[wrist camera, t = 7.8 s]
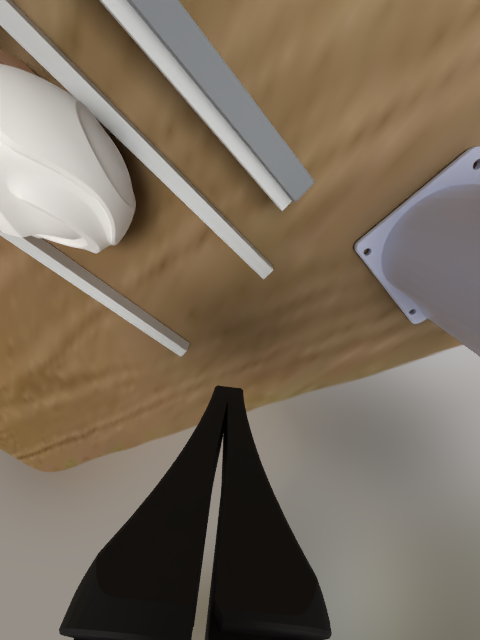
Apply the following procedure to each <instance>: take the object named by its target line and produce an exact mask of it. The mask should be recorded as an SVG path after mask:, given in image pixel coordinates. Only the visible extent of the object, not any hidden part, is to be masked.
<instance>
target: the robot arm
mask: <svg viewBox="0 0 480 640" xmlns="http://www.w3.org/2000/svg"><path fill="white" fill-rule="evenodd" d="M476 160H477V165H476V167H475V168H474V169H473V164H474V163H475V161H476ZM367 248H369V251H368V252H367V253H366V254H364V250H365V249H367ZM354 249H355V251H356V252H357V254H358V255H359V256H360V258H361V259H362V260H363V261H364V263H365V264H366V265H367V267H368V268H369V269H370V270H371V272H372V273H373V274H374V276H375V277H376V278H377V279H378V281H379V282H380V283H381V285H382V286H383V287H384V288H385V290H386V291H387V292H388V294H389V295H390V296H391V297H392V299H393V300H394V301H395V303H396V304H397V305H398V306H399V308H400V309H401V310H402V312H403V313H404V314H405V315H406V317H407V318H408V319H409V321H411V322H412V323H413V324H418V323H421V322H422V321H424V320H426V319H429V320H430V321H432V322H433V323H435V324H436V325H437V326H439V327H440V328H441V329H443V330H444V331H446V332H447V333H448V334H450V335H451V336H452V337H454V338H455V339H457V340H458V341H459V342H461V343H462V344H463V345H465V346H466V347H468V348H469V349H470V350H472V351H473V352H474V353H476V354H477V355H479V356H480V146H477V147H472V148H470V149H468V150H466V151H465V152H464V153H463V154H462V155H460V156H459V157H458V158H457V159H456V160H454V161H453V162H452V163H451V164H450V165H448V166H447V167H446V168H445V169H444V170H442V171H441V172H440V173H439V174H438V175H436V176H435V177H434V178H433V179H432V180H430V181H429V182H428V183H427V184H426V185H424V186H423V187H422V188H421V189H420V190H418V191H417V192H416V193H415V194H414V195H412V196H411V197H410V198H409V199H408V200H406V201H405V202H404V203H403V204H402V205H400V206H399V207H398V208H397V209H396V210H394V211H393V212H392V213H391V214H389V215H388V216H387V217H386V218H385V219H383V220H382V221H381V222H380V223H379V224H377V225H376V226H375V227H374V228H373V229H371V230H370V231H369V232H368V233H367V234H365V235H364V236H363V237H362V238H361V239H359V240H358V241H357V242H356V244H355V246H354ZM412 309H413V310H412ZM411 310H412V311H411ZM410 311H411V312H410ZM223 433H224V435H223ZM222 438H223V462H222V486H221V498H220V507H219V517H218V525H217V535H216V545H215V553H214V562H213V572H212V580H211V589H210V598H209V606H208V615H207V624H206V634H205V640H325V639H329V638H330V636H331V628H330V621H329V617H328V613H327V609H326V605H325V601H324V598H323V595H322V592H321V589H320V586H319V583H318V580H317V577H316V575H315V573H314V572H313V570H312V568H311V566H310V564H309V562H308V561H307V559H306V557H305V555H304V553H303V551H302V549H301V548H300V546H299V544H298V542H297V540H296V538H295V536H294V534H293V532H292V530H291V528H290V526H289V524H288V523H287V520H286V518H285V516H284V514H283V512H282V510H281V508H280V505H279V503H278V501H277V499H276V497H275V495H274V493H273V490H272V488H271V486H270V483H269V481H268V478H267V476H266V474H265V471H264V469H263V466H262V464H261V461H260V458H259V455H258V452H257V449H256V446H255V443H254V440H253V437H252V433H251V430H250V426H249V423H248V419H247V414H246V410H245V404H244V398H243V390H242V389H241V388H232V387H224V386H216V387H215V389H214V392H213V395H212V398H211V400H210V402H209V404H208V407H207V409H206V411H205V413H204V415H203V416H202V418H201V420H200V422H199V424H198V426H197V427H196V429H195V431H194V432H193V434H192V436H191V437H190V439H189V441H188V442H187V444H186V445H185V447H184V448H183V450H182V451H181V453H180V454H179V456H178V457H177V459H176V460H175V462H174V463H173V464H172V466H171V467H170V469H169V470H168V471H167V473H166V474H165V475H164V477H163V478H162V479H161V481H160V482H159V483H158V485H157V486H156V487H155V488H154V490H153V491H152V492H151V493H150V495H149V496H148V497H147V498H146V499H145V501H144V502H143V503H142V504H141V505H140V507H139V508H138V509H137V510H136V512H135V513H134V514H133V515H132V516H131V518H130V519H129V520H128V521H127V522H126V523H125V524H124V525H123V527H122V528H121V529H120V530H119V531H118V532H117V533H116V534H115V535H114V537H113V538H112V539H111V540H110V541H109V542H108V543H107V544H106V545H105V547H104V548H103V549H102V550H101V551H100V552H99V553H98V555H97V557H96V558H95V560H94V561H93V563H92V564H91V566H90V567H89V569H88V571H87V573H86V574H85V576H84V577H83V579H82V581H81V583H80V585H79V587H78V589H77V590H76V592H75V594H74V597H73V599H72V601H71V603H70V606H69V608H68V610H67V613H66V615H65V617H64V619H63V622H62V624H61V626H60V629H59V631H60V634H61V635H64V636H68V637H73V638H74V640H191V637H192V630H193V627H194V621H195V613H196V605H197V598H198V591H199V583H200V575H201V568H202V561H203V552H204V545H205V538H206V530H207V523H208V516H209V508H210V501H211V493H212V487H213V482H214V477H215V472H216V467H217V462H218V457H219V453H220V448H221V443H222Z"/></svg>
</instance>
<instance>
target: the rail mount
mask: <svg viewBox="0 0 480 640" xmlns="http://www.w3.org/2000/svg"><path fill="white" fill-rule="evenodd" d="M99 1H100V2H101V3H102V4H103V5H104V7H105V8H106V9H107V10H108V11H109V12H110V14H111V15H112V16H113V17H114V18H115V19H116V21H117V22H118V23H119V24H120V25H121V26H122V28H123V29H124V30H125V31H126V32H127V33H128V34H129V36H130V37H131V38H132V39H133V40H134V41H135V43H136V44H137V45H138V46H139V47H140V48H141V50H142V51H143V52H144V53H145V54H146V55H147V56H148V58H149V59H150V60H151V61H152V62H153V63H154V65H155V66H156V67H157V68H158V69H159V70H160V72H161V73H162V74H163V75H164V76H165V77H166V79H167V80H168V81H169V82H170V83H171V84H172V85H173V87H174V88H175V89H176V90H177V91H178V92H179V94H180V95H181V96H182V97H183V98H184V99H185V101H186V102H187V103H188V104H189V105H190V106H191V107H192V109H193V110H194V111H195V112H196V113H197V114H198V116H199V117H200V118H201V119H202V120H203V121H204V123H205V124H206V125H207V126H208V127H209V128H210V129H211V131H212V132H213V133H214V134H215V135H216V136H217V138H218V139H219V140H220V141H221V142H222V143H223V145H224V146H225V147H226V148H227V149H228V150H229V152H230V153H231V154H232V155H233V156H234V157H235V158H236V160H237V161H238V162H239V163H240V164H241V165H242V167H243V168H244V169H245V170H246V171H247V172H248V174H249V175H250V176H251V177H252V178H253V179H254V180H255V182H256V183H257V184H258V185H259V186H260V187H261V189H262V190H263V191H264V192H265V193H266V194H267V196H268V197H269V198H270V199H271V200H272V201H273V203H274V204H275V205H276V206H277V207H278V208H279V209H280V210H282V211H283V210H284V209H285V208H286V207H287V206H288V205H289V204H290V203H291V202H292V201H294V202H296V201H297V200H298V199H299V198H300V197H301V196H302V195H303V194H304V193H305V192H306V191H307V190H308V189H309V188H310V187H311V186H312V185H313V184H314V183H315V181H314V180H313V179H312V177H311V176H310V175H309V173H308V172H307V171H306V169H305V168H304V167H303V165H302V164H301V163H300V161H299V160H298V159H297V157H296V156H295V155H294V153H293V152H292V151H291V149H290V148H289V147H288V145H287V144H286V143H285V141H284V140H283V139H282V137H281V136H280V135H279V133H278V132H277V131H276V129H275V128H274V127H273V125H272V124H271V123H270V121H269V120H268V119H267V117H266V116H265V115H264V113H263V112H262V111H261V109H260V108H259V107H258V105H257V104H256V103H255V101H254V100H253V99H252V97H251V96H250V95H249V93H248V92H247V91H246V89H245V88H244V87H243V85H242V84H241V83H240V81H239V80H238V79H237V77H236V76H235V75H234V74H233V72H232V71H231V70H230V68H229V67H228V66H227V64H226V63H225V62H224V60H223V59H222V58H221V56H220V55H219V54H218V52H217V51H216V50H215V48H214V47H213V46H212V44H211V43H210V42H209V40H208V39H207V38H206V36H205V35H204V34H203V32H202V31H201V30H200V28H199V27H198V26H197V24H196V23H195V22H194V20H193V19H192V18H191V16H190V15H189V14H188V12H187V11H186V10H185V8H184V7H183V6H182V4H181V3H180V2H179V0H99ZM0 26H2V27H3V28H4V29H5V30H6V31H7V32H8V33H9V34H10V35H11V36H12V37H13V38H14V39H15V40H16V41H17V42H18V43H19V44H20V45H21V46H22V47H23V48H24V49H25V50H26V51H27V52H28V53H30V54H31V55H32V56H33V57H34V58H35V59H36V60H37V61H38V62H39V63H40V64H41V65H42V66H43V67H44V68H45V69H46V70H47V71H48V72H49V73H50V74H51V75H52V76H53V77H54V78H55V79H56V80H57V81H59V82H60V83H61V84H62V85H63V86H64V87H65V88H66V89H67V90H68V91H69V92H70V93H71V94H72V95H73V96H74V97H75V98H77V99H78V100H79V101H81V102H82V103H83V104H84V105H85V106H86V107H87V108H88V109H89V110H90V111H91V112H92V114H93V115H94V116H95V117H96V118H97V119H98V120H99V121H100V122H101V123H102V124H103V125H104V126H105V127H106V128H107V129H108V130H109V131H110V132H111V133H112V134H113V135H114V136H116V137H117V138H118V139H119V140H120V141H121V142H122V143H123V144H124V145H125V146H126V147H127V148H128V149H129V150H130V151H131V152H132V153H133V154H134V155H135V156H136V157H137V158H138V159H139V160H140V161H141V162H142V163H143V164H145V165H146V166H147V167H148V168H149V169H150V170H151V171H152V172H153V173H154V174H155V175H156V176H157V177H158V178H159V179H160V180H161V181H162V182H163V183H164V184H165V185H166V186H167V187H168V188H169V189H170V190H171V191H172V192H174V193H175V194H176V195H177V196H178V197H179V198H180V199H181V200H182V201H183V202H184V203H185V204H186V205H187V206H188V207H189V208H190V209H191V210H192V211H193V212H194V213H195V214H196V215H197V216H198V217H199V218H200V219H201V220H203V221H204V222H205V223H206V224H207V225H208V226H209V227H210V228H211V229H212V230H213V231H214V232H215V233H216V234H217V235H218V236H219V237H220V238H221V239H222V240H223V241H224V242H225V243H226V244H227V245H228V246H229V247H231V248H232V249H233V250H234V251H235V252H236V253H237V254H238V255H239V256H240V257H241V258H242V259H243V260H244V261H245V262H246V263H247V264H248V265H249V266H250V267H251V268H252V269H253V270H254V271H255V272H256V273H257V274H258V275H260V276H261V277H262V278H263V279H265V278H266V277H267V276H268V275H269V274H270V273H271V272H272V271H273V267H272V265H271V264H270V263H269V262H268V261H267V260H266V259H265V258H264V257H263V256H262V255H261V254H260V253H259V252H258V250H257V249H256V248H255V247H254V246H253V245H252V244H251V243H250V242H249V241H248V240H247V239H246V238H245V237H244V236H243V235H242V234H241V233H240V232H239V231H238V230H237V229H236V228H235V227H234V226H233V225H232V224H231V223H230V222H229V221H228V220H227V219H226V218H225V217H224V216H223V215H222V214H221V213H220V212H219V211H218V210H217V209H216V208H215V207H214V206H213V205H212V204H211V203H210V202H209V201H208V200H207V199H206V198H205V197H204V196H203V195H202V194H201V193H200V192H199V191H198V190H197V189H196V188H195V187H194V186H193V185H192V183H191V182H190V181H189V180H188V179H187V178H186V177H185V176H184V175H183V174H182V173H181V172H180V171H179V170H178V169H177V168H176V167H175V166H174V165H173V164H172V163H171V162H170V161H169V160H168V159H167V158H166V157H165V156H164V155H163V154H162V153H161V152H160V151H159V150H158V149H157V148H156V147H155V146H154V145H153V144H152V143H151V142H150V141H149V140H148V139H147V138H146V137H145V136H144V135H143V134H142V133H141V132H140V131H139V130H138V129H137V128H136V127H135V126H134V125H133V124H132V123H131V122H130V121H129V120H128V119H127V118H126V117H125V115H124V114H123V113H122V112H121V111H120V110H119V109H118V108H117V107H116V106H115V105H114V104H113V103H112V102H111V101H110V100H109V99H108V98H107V97H106V96H105V95H104V94H103V93H102V92H101V91H100V90H99V89H98V88H97V87H96V86H95V85H94V84H93V83H92V82H91V81H90V80H89V79H88V78H87V77H86V76H85V75H84V74H83V73H82V72H81V71H80V70H79V69H78V68H77V67H76V66H75V65H74V64H73V63H72V62H71V61H70V60H69V59H68V58H67V57H66V56H65V55H64V54H63V53H62V52H61V51H60V50H59V48H58V47H57V46H56V45H55V44H54V43H53V42H52V41H51V40H50V39H49V38H48V37H47V36H46V35H45V34H44V33H43V32H42V31H41V30H40V29H39V28H38V27H37V26H36V25H35V24H34V23H33V22H32V21H31V20H30V19H29V18H28V17H27V16H26V15H25V14H24V13H23V12H22V11H21V10H20V9H19V8H18V7H17V6H16V5H15V4H14V3H13V2H12V1H11V0H0ZM0 235H1V236H2V237H4V238H5V239H7V240H8V241H10V242H11V243H13V244H14V245H15V246H17V247H18V248H20V249H21V250H23V251H24V252H26V253H27V254H29V255H30V256H32V257H33V258H35V259H36V260H38V261H39V262H41V263H42V264H44V265H45V266H47V267H48V268H50V269H51V270H53V271H54V272H56V273H57V274H59V275H60V276H62V277H63V278H65V279H66V280H67V281H69V282H70V283H72V284H73V285H75V286H76V287H78V288H79V289H81V290H82V291H84V292H85V293H87V294H88V295H90V296H91V297H93V298H94V299H96V300H97V301H99V302H100V303H102V304H103V305H105V306H106V307H108V308H109V309H111V310H112V311H114V312H115V313H116V314H118V315H119V316H121V317H122V318H124V319H125V320H127V321H128V322H130V323H131V324H133V325H134V326H136V327H137V328H139V329H140V330H142V331H143V332H145V333H146V334H148V335H149V336H151V337H152V338H154V339H155V340H157V341H158V342H160V343H161V344H163V345H164V346H166V347H167V348H168V349H170V350H171V351H173V352H174V353H176V354H177V355H179V356H180V357H181V356H182V355H183V354H184V353H185V352H186V351H187V350H188V347H189V345H190V343H189V342H187V341H186V340H184V339H183V338H182V337H180V336H179V335H177V334H176V333H175V332H173V331H172V330H170V329H169V328H168V327H166V326H165V325H163V324H162V323H160V322H159V321H158V320H156V319H155V318H153V317H152V316H151V315H149V314H148V313H146V312H145V311H144V310H142V309H141V308H139V307H138V306H137V305H135V304H134V303H132V302H131V301H129V300H128V299H127V298H125V297H124V296H122V295H121V294H120V293H118V292H117V291H115V290H114V289H113V288H111V287H110V286H108V285H107V284H106V283H104V282H103V281H101V280H100V279H99V278H97V277H96V276H94V275H93V274H91V273H90V272H89V271H87V270H86V269H84V268H83V267H82V266H80V265H79V264H77V263H76V262H75V261H73V260H72V259H70V258H69V257H68V256H66V255H65V254H63V253H62V252H60V251H59V250H58V249H56V248H55V247H53V246H52V245H51V244H49V243H48V242H46V241H45V240H44V239H42V238H41V239H39V238H36V237H34V236H27V237H23V238H21V237H16V236H12V235H8V234H5V233H3V232H2V231H1V230H0Z"/></svg>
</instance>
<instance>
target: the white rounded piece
mask: <svg viewBox="0 0 480 640" xmlns="http://www.w3.org/2000/svg"><path fill="white" fill-rule="evenodd" d="M135 207H136V201H135V196H134V193H133V190H132V184H131V179H130V176H129V172H128V169H127V167H126V164H125V162H124V160H123V158H122V156H121V154H120V152H119V150H118V149H117V147H116V145H115V144H114V142H113V141H112V139H111V138H110V137H109V135H108V134H107V133H106V132H105V130H104V129H103V128H102V126H101V125H100V123H99V122H98V121H97V119H96V118H95V116H94V115H93V114H92V112H91V111H90V110H89V109H88V108H87V107H86V106H85V105H84V104H83V103H82V102H81V101H79V100H78V99H77V98H75V97H74V96H72V95H71V94H69V93H67V92H66V91H64V90H63V89H61V88H59V87H57V86H56V85H54V84H52V83H50V82H48V81H46V80H44V79H42V78H40V77H38V76H36V75H34V74H32V73H29V72H27V71H24V70H21V69H18V68H15V67H12V66H8V65H4V64H0V230H1V231H2V232H3V233H5V234H8V235H12V236H16V237H21V238H23V237H27V236H34V237H36V238H39V239H41V238H44V239H47V240H50V241H53V242H56V243H59V244H63V245H66V246H70V247H75V248H80V249H86V250H88V251H91V252H93V253H95V254H96V253H98V252H100V251H102V250H103V249H105V248H106V247H108V246H110V245H117V244H118V243H119V242H120V241H121V239H122V238H123V237H124V235H125V234H126V232H127V230H128V228H129V226H130V224H131V221H132V219H133V216H134V212H135Z"/></svg>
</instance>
